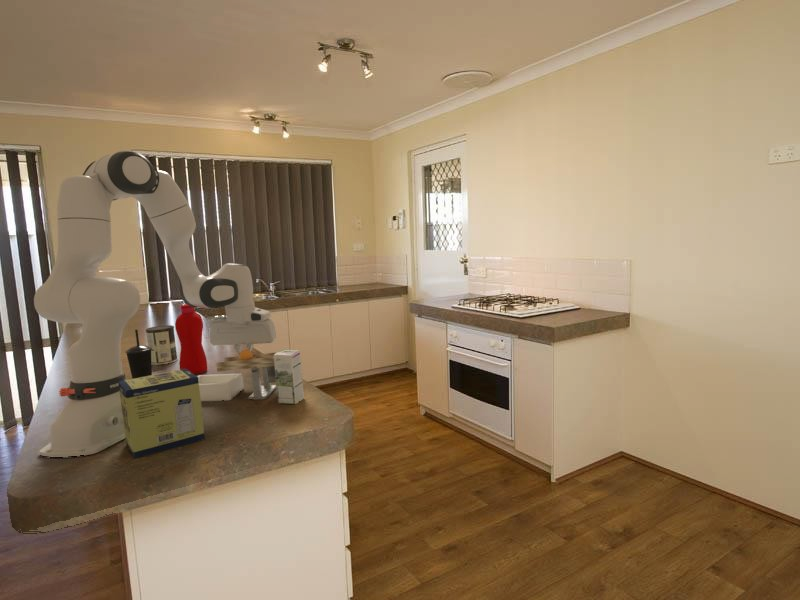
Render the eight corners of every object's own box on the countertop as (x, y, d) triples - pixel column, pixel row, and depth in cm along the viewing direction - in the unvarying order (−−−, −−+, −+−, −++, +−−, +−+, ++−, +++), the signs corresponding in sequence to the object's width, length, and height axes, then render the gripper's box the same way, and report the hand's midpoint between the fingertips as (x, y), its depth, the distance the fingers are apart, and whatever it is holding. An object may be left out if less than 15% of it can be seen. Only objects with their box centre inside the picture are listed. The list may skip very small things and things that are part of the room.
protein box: (125, 445, 117) (116, 380, 115) (194, 427, 126) (187, 367, 124) (133, 459, 108) (124, 390, 106) (206, 439, 118) (199, 375, 116)
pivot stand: (265, 399, 145) (262, 366, 144) (248, 399, 146) (245, 367, 144) (276, 387, 157) (274, 356, 156) (261, 387, 157) (258, 357, 156)
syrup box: (304, 398, 144) (300, 349, 143) (295, 405, 139) (291, 354, 137) (287, 397, 146) (283, 349, 144) (276, 404, 140) (272, 354, 138)
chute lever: (297, 368, 161) (294, 345, 160) (285, 381, 147) (282, 356, 146) (237, 374, 162) (234, 352, 161) (219, 387, 148) (215, 363, 147)
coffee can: (167, 357, 208) (164, 324, 206) (183, 360, 202) (179, 325, 200) (144, 363, 199) (140, 329, 197) (159, 366, 194) (155, 330, 192)
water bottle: (213, 372, 179) (206, 304, 176) (180, 377, 175) (172, 307, 172) (212, 366, 188) (205, 301, 185) (181, 371, 184) (173, 304, 181)
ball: (251, 363, 148) (248, 350, 148) (239, 365, 148) (235, 352, 148) (256, 359, 152) (253, 347, 151) (243, 362, 152) (240, 349, 152)
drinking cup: (125, 392, 160) (117, 331, 157) (146, 385, 166) (139, 327, 164) (140, 395, 156) (132, 332, 154) (161, 388, 163) (154, 328, 160)
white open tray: (230, 400, 146) (228, 383, 145) (184, 401, 147) (182, 385, 146) (243, 388, 157) (242, 373, 156) (200, 390, 158) (198, 375, 157)
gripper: (204, 317, 153) (208, 361, 155) (269, 315, 152) (273, 359, 154) (212, 314, 159) (216, 356, 161) (275, 311, 158) (279, 354, 160)
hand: (245, 357), depth 157 cm, fingers closed
